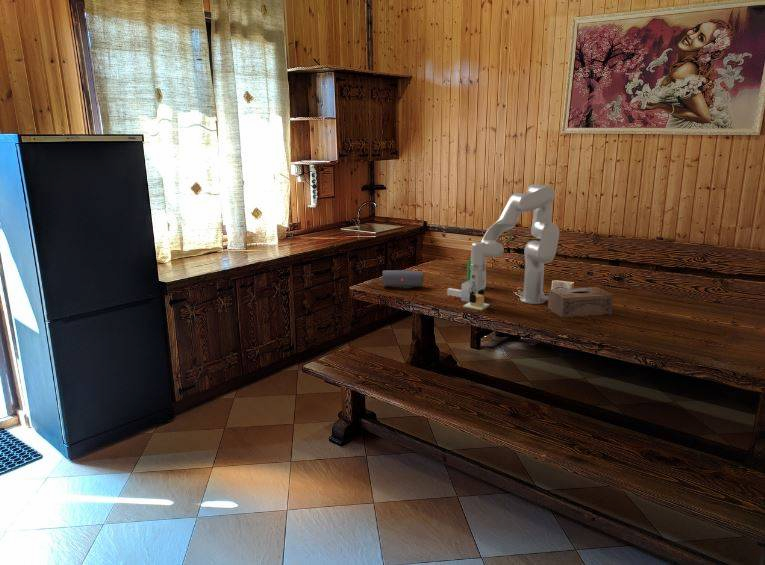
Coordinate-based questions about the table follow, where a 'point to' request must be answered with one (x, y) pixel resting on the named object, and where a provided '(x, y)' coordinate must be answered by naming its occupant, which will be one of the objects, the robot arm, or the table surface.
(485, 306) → the mat
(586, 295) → the tissue box cover
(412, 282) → the bluetooth speaker
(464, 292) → the housing
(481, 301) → the plug block
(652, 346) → the table surface
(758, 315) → the table surface
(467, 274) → the motor
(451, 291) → the push rod
